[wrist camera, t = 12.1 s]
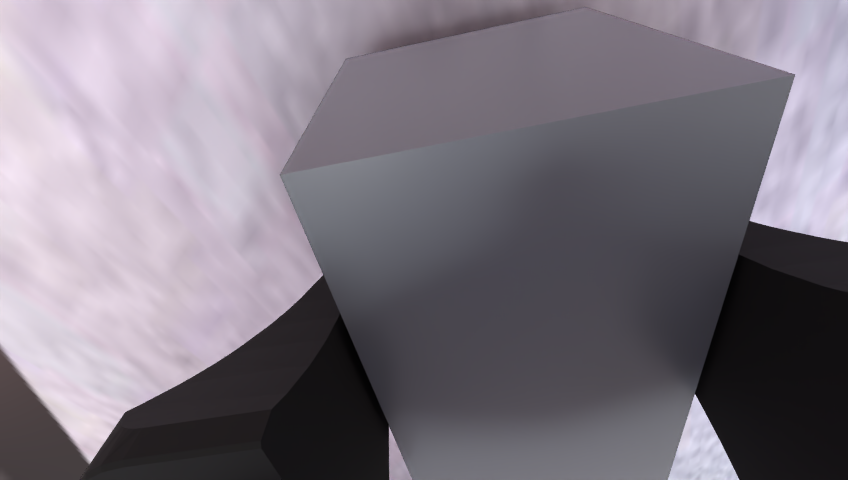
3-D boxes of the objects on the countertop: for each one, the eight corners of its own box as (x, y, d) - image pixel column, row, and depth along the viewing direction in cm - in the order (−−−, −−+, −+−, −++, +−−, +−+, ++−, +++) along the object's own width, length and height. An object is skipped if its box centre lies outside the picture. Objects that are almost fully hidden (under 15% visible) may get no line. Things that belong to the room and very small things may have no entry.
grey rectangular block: (576, 313, 16) (661, 498, 11) (424, 337, 17) (432, 524, 11) (585, 6, 10) (795, 75, 5) (346, 58, 10) (279, 174, 5)
